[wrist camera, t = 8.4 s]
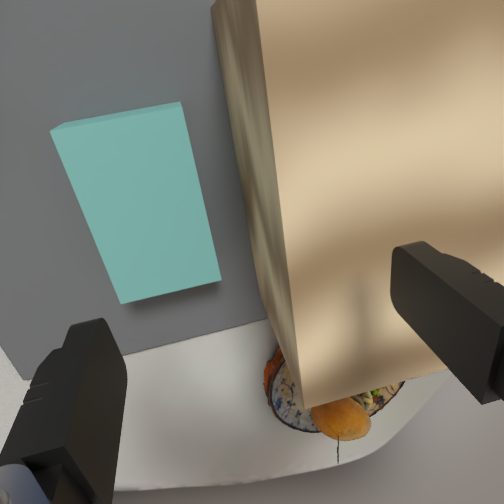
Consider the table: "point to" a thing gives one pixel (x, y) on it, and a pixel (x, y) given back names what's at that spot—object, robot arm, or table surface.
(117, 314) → the mat
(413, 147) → the oak block
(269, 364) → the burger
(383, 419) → the table surface
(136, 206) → the card box
